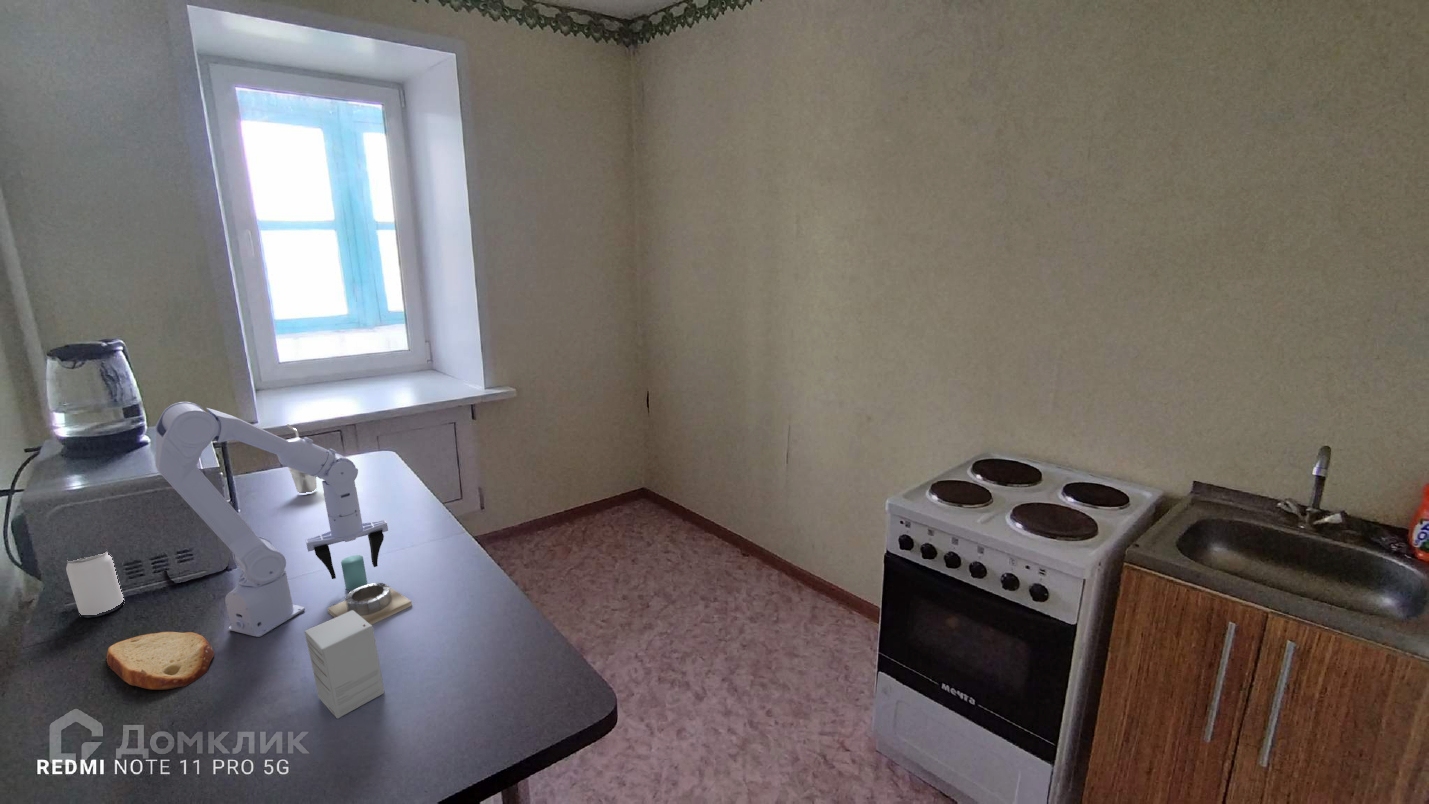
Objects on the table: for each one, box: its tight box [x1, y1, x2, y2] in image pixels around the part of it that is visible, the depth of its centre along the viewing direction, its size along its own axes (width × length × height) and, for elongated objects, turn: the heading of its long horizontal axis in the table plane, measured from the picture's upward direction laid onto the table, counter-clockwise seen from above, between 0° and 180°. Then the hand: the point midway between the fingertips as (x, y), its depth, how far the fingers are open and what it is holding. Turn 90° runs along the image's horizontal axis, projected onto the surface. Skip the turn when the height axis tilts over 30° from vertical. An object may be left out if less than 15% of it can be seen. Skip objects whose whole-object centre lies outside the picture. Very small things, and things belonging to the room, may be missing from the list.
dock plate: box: [327, 586, 413, 626], centre depth 122 cm, size 11×11×1 cm
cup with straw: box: [286, 423, 318, 493], centre depth 177 cm, size 8×9×20 cm
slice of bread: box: [105, 631, 215, 691], centre depth 106 cm, size 18×18×4 cm
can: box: [65, 550, 125, 615], centre depth 121 cm, size 6×6×12 cm
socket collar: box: [344, 582, 392, 616], centre depth 122 cm, size 8×8×2 cm
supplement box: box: [304, 610, 385, 719], centre depth 97 cm, size 7×7×13 cm
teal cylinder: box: [340, 554, 368, 592], centre depth 130 cm, size 4×4×6 cm
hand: (354, 570), depth 130 cm, fingers open, 7 cm apart
